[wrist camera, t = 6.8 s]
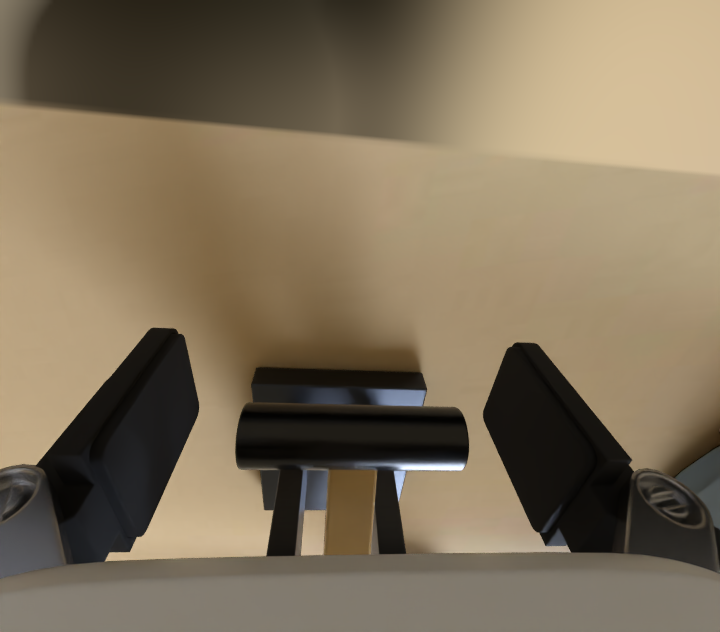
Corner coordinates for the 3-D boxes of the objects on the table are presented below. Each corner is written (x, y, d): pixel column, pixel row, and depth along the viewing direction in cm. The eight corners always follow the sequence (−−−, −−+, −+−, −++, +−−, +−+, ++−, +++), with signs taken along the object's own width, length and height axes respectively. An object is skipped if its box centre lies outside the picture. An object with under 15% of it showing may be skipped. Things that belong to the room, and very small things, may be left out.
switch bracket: (256, 366, 16) (92, 891, 6) (422, 372, 17) (567, 845, 6) (267, 491, 22) (194, 887, 11) (394, 491, 22) (447, 863, 11)
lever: (254, 384, 9) (227, 433, 7) (445, 389, 9) (483, 437, 7) (253, 738, 11) (232, 868, 9) (405, 729, 12) (424, 851, 9)
